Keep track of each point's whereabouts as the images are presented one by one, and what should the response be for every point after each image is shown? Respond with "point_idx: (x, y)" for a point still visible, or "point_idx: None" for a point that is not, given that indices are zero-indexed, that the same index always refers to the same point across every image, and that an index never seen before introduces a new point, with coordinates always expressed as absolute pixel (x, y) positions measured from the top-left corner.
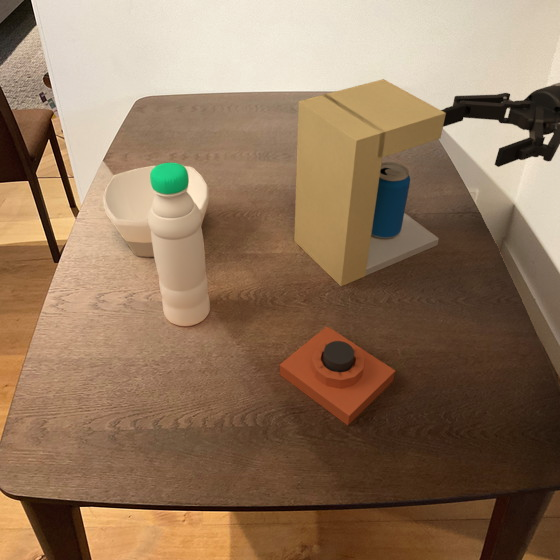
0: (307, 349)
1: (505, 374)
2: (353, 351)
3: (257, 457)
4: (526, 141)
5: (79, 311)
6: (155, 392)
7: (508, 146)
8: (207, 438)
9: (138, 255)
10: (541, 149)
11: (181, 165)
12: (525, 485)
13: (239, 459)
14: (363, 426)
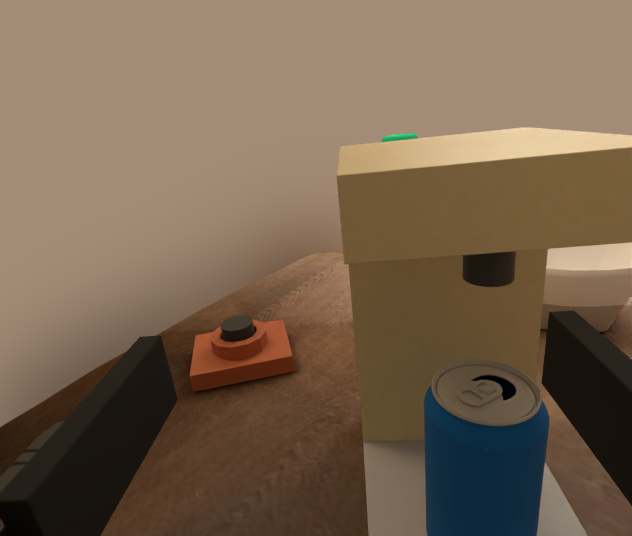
0: (279, 336)
1: None
2: (225, 329)
3: (235, 309)
4: (45, 448)
5: None
6: (330, 286)
7: (130, 363)
8: (272, 297)
9: None
10: None
11: (403, 136)
12: (13, 419)
13: (243, 304)
14: (187, 356)
